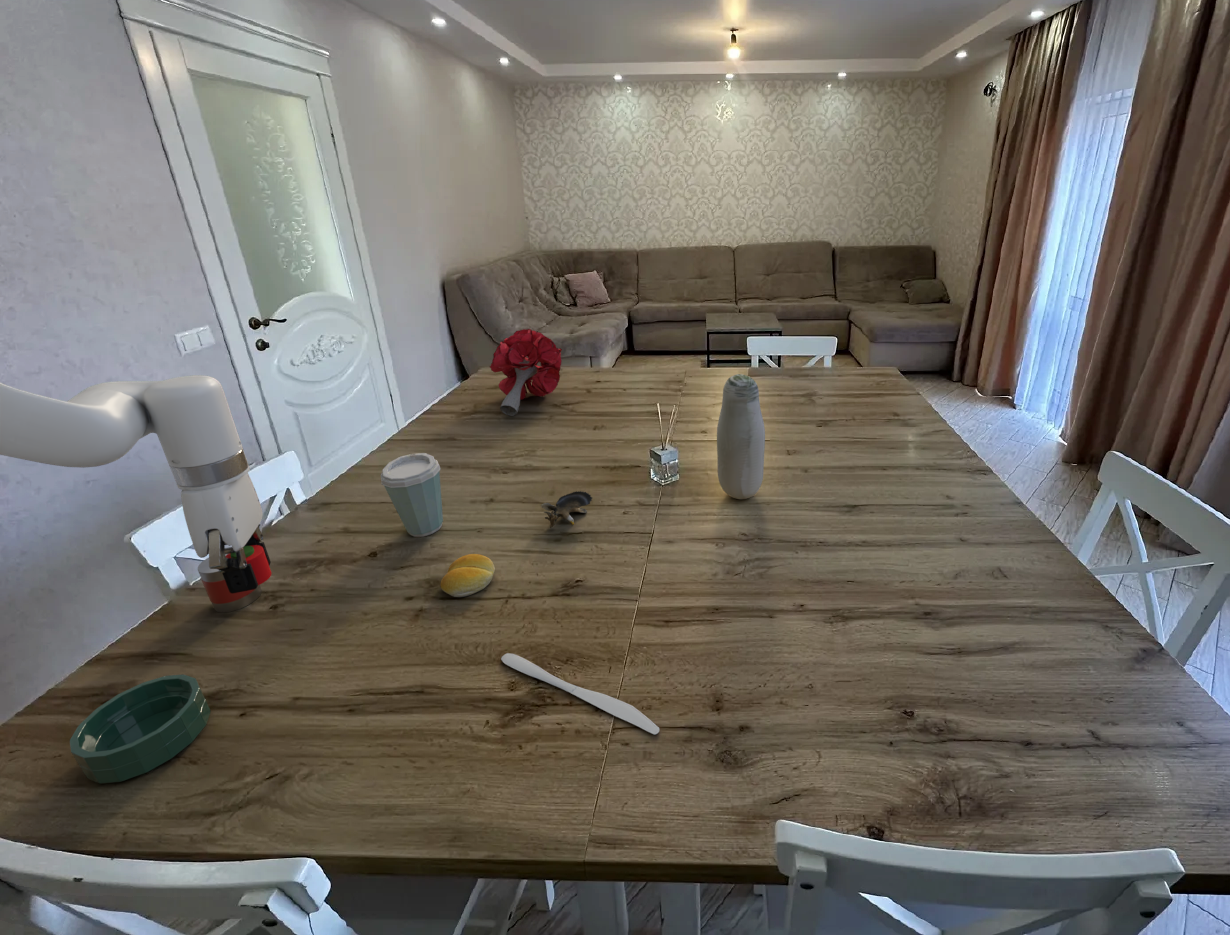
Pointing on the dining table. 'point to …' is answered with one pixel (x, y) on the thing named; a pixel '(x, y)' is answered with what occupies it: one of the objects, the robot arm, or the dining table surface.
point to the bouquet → (526, 367)
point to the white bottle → (740, 438)
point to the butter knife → (584, 693)
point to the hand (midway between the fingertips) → (251, 577)
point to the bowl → (140, 728)
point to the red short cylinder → (256, 562)
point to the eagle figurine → (567, 506)
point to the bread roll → (468, 575)
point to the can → (224, 590)
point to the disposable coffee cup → (415, 492)
